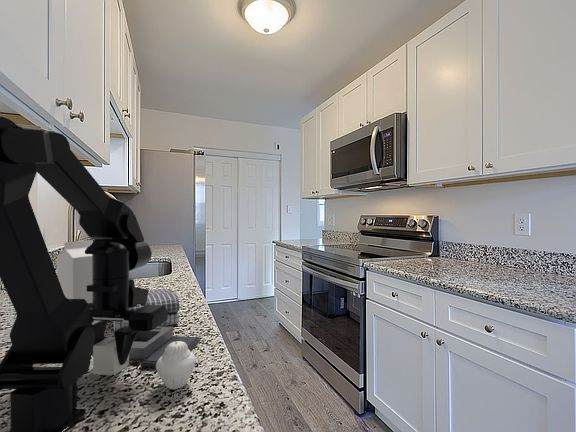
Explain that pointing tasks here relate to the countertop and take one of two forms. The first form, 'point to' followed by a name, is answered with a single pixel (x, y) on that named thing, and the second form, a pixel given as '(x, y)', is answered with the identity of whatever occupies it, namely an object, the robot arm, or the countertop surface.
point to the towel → (159, 298)
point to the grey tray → (149, 342)
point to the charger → (107, 358)
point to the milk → (75, 270)
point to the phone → (154, 357)
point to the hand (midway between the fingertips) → (111, 363)
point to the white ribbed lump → (176, 365)
